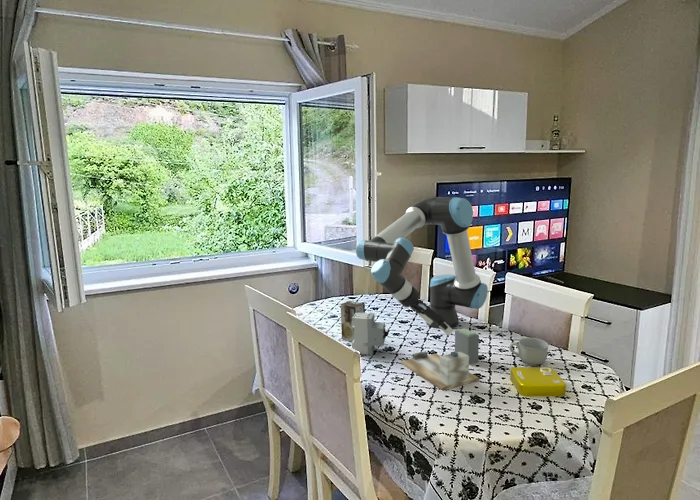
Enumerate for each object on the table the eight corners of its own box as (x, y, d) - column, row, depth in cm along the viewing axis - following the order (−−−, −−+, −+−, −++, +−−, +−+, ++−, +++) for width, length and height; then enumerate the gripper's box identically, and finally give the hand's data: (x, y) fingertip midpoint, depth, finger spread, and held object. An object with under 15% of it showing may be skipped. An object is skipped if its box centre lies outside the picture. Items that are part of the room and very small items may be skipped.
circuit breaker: (387, 355, 204) (386, 319, 201) (352, 353, 207) (351, 318, 204) (389, 348, 211) (389, 313, 208) (355, 346, 214) (354, 312, 211)
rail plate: (435, 355, 202) (435, 328, 200) (479, 380, 179) (479, 350, 177) (401, 363, 196) (401, 335, 194) (441, 390, 173) (442, 359, 171)
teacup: (547, 358, 197) (548, 338, 196) (547, 369, 187) (549, 348, 186) (509, 354, 202) (510, 335, 200) (508, 365, 192) (509, 345, 190)
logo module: (464, 355, 202) (465, 327, 200) (478, 362, 195) (478, 333, 193) (454, 357, 200) (455, 329, 198) (467, 364, 193) (468, 335, 191)
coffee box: (366, 339, 222) (365, 303, 219) (356, 343, 218) (355, 307, 215) (350, 335, 228) (350, 300, 226) (340, 338, 224) (340, 303, 221)
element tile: (508, 378, 182) (509, 365, 181) (551, 377, 181) (551, 365, 180) (520, 397, 167) (521, 384, 166) (567, 397, 166) (568, 383, 166)
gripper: (383, 292, 194) (418, 325, 202) (414, 310, 171) (452, 346, 179) (396, 277, 195) (430, 310, 203) (428, 293, 172) (465, 329, 180)
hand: (440, 327), depth 191 cm, fingers open, 13 cm apart
